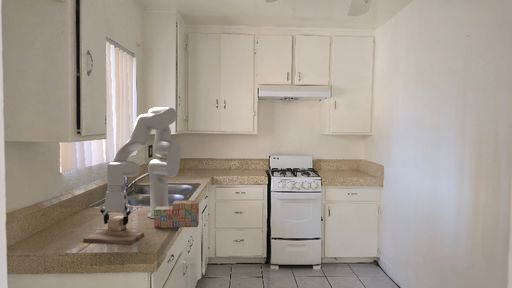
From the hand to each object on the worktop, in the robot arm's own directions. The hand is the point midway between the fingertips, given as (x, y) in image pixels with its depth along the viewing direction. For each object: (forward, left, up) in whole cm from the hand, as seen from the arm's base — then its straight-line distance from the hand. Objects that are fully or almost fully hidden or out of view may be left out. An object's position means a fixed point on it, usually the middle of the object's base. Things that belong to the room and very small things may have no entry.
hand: (115, 223), depth 166 cm
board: (+10, +5, -3) cm, 12 cm away
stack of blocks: (-12, +26, -4) cm, 29 cm away
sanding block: (-1, 0, -4) cm, 4 cm away
